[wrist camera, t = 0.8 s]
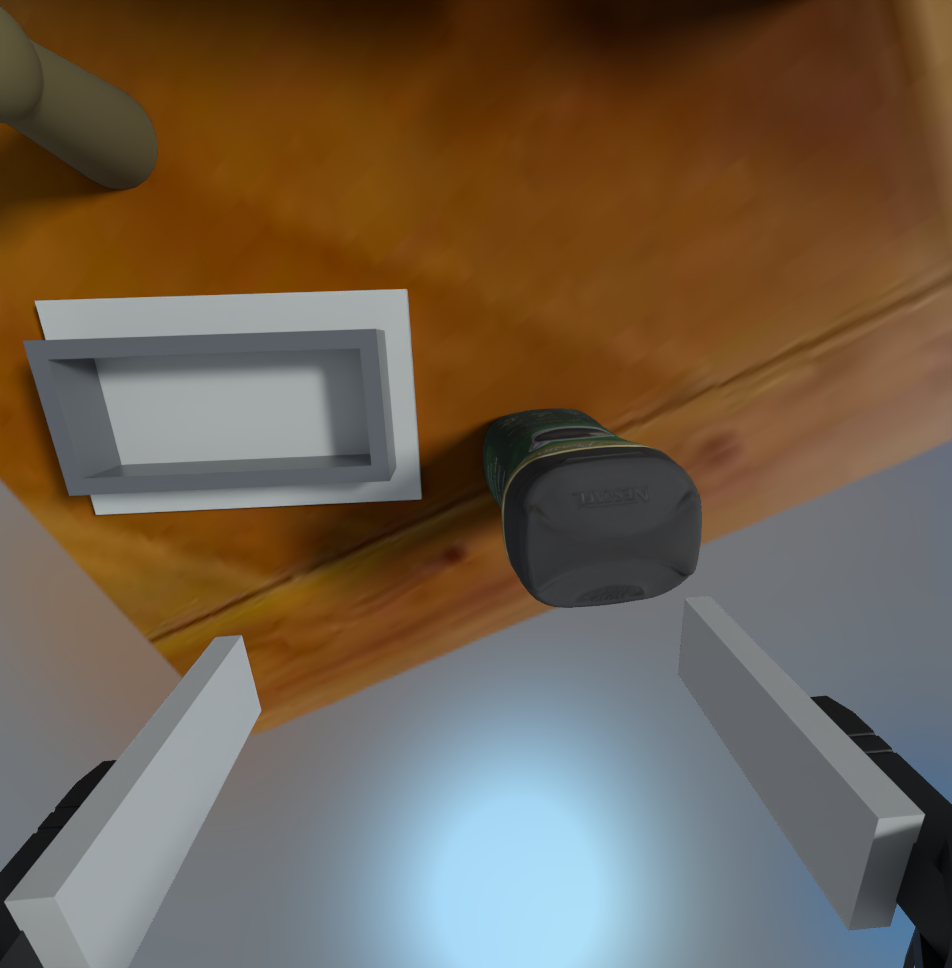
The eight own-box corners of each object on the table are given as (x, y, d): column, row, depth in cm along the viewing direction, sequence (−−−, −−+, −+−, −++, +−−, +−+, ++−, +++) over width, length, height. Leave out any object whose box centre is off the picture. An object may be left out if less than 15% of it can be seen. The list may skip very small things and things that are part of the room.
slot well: (105, 510, 38) (54, 534, 33) (46, 302, 33) (-22, 294, 29) (422, 495, 39) (417, 516, 34) (407, 290, 34) (400, 281, 29)
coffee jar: (486, 506, 39) (513, 636, 22) (478, 413, 37) (500, 474, 19) (598, 494, 40) (717, 614, 22) (597, 401, 37) (728, 451, 20)
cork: (167, 187, 32) (25, 108, 21) (77, 192, 32) (-112, 113, 21) (144, 82, 30) (-23, -63, 19) (49, 85, 30) (-172, -58, 19)
